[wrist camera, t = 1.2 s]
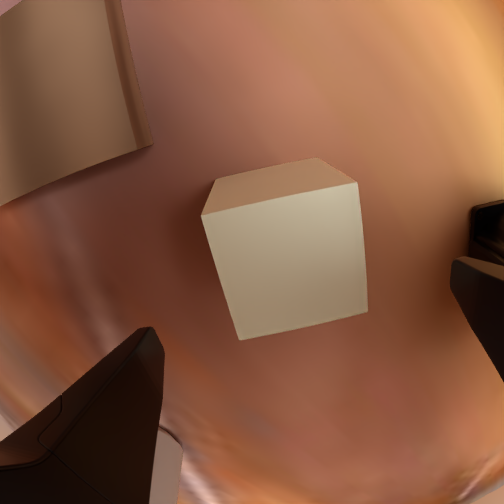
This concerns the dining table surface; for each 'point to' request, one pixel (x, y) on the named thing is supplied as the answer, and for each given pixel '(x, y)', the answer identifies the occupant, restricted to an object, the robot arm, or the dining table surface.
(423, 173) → the dining table surface
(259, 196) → the block
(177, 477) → the can
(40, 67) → the plinth
